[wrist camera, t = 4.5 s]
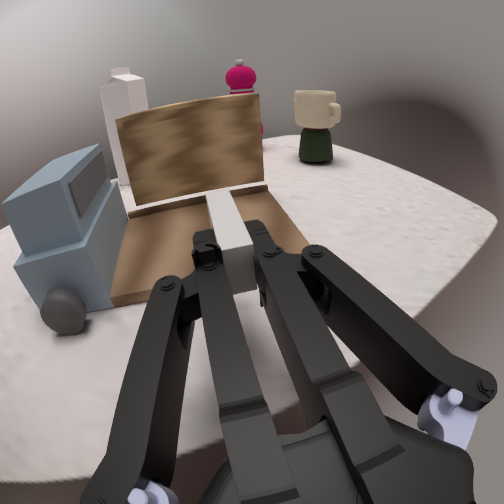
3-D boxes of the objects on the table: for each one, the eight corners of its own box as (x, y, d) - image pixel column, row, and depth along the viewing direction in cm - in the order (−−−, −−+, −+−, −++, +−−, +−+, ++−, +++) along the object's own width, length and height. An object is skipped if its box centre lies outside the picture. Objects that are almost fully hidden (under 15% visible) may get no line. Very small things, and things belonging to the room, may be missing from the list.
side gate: (136, 206, 31) (114, 119, 24) (137, 200, 33) (117, 117, 26) (264, 181, 34) (259, 93, 27) (260, 176, 35) (255, 92, 28)
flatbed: (114, 307, 21) (106, 292, 20) (131, 224, 33) (128, 212, 32) (315, 264, 24) (316, 247, 23) (267, 197, 36) (266, 184, 35)
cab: (40, 339, 18) (-28, 229, 11) (82, 231, 33) (56, 154, 26) (111, 329, 19) (46, 197, 13) (133, 218, 35) (111, 136, 28)
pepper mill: (268, 152, 53) (261, 56, 42) (233, 157, 52) (222, 58, 41) (259, 144, 59) (253, 59, 47) (227, 149, 58) (218, 62, 46)
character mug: (351, 164, 45) (353, 93, 38) (324, 172, 42) (324, 93, 35) (309, 151, 53) (307, 89, 45) (282, 157, 50) (278, 90, 42)
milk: (160, 171, 50) (143, 62, 37) (146, 183, 45) (125, 63, 32) (135, 173, 51) (116, 70, 38) (119, 186, 46) (97, 73, 33)
